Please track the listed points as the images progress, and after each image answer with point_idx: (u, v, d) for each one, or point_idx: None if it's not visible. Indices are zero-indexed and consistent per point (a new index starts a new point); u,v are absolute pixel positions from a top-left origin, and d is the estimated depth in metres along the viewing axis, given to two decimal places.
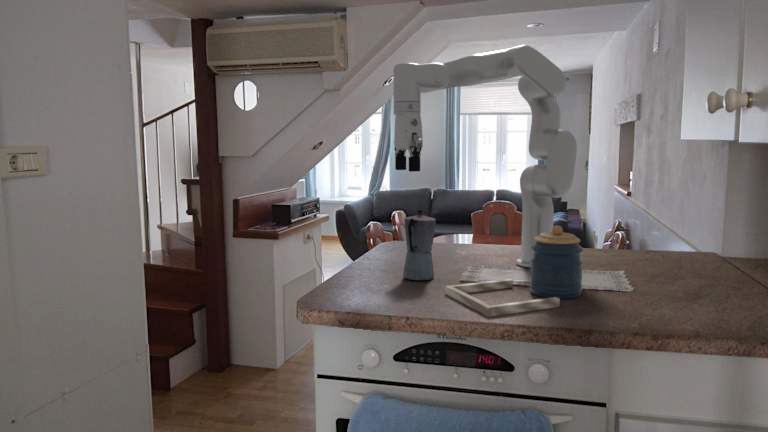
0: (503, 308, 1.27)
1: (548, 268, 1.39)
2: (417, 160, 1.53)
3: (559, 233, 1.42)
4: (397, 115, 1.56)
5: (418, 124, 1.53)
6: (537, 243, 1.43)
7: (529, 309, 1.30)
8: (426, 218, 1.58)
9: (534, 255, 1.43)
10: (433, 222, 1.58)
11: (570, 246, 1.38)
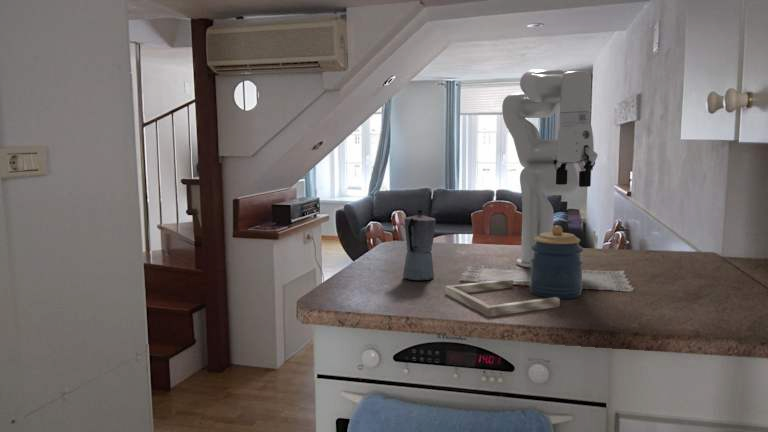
0: (503, 308, 1.27)
1: (548, 268, 1.39)
2: (589, 175, 1.43)
3: (559, 233, 1.42)
4: (563, 126, 1.47)
5: (590, 136, 1.43)
6: (537, 243, 1.43)
7: (529, 309, 1.30)
8: (426, 218, 1.58)
9: (534, 255, 1.43)
10: (433, 222, 1.58)
11: (570, 246, 1.38)
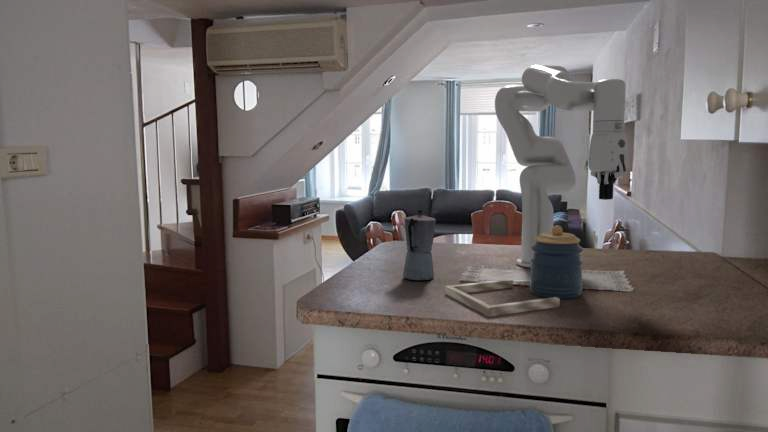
0: (503, 308, 1.27)
1: (548, 268, 1.39)
2: (611, 188, 1.45)
3: (559, 233, 1.42)
4: (597, 135, 1.45)
5: (625, 145, 1.41)
6: (537, 243, 1.43)
7: (529, 309, 1.30)
8: (426, 218, 1.58)
9: (534, 255, 1.43)
10: (433, 222, 1.58)
11: (570, 245, 1.38)
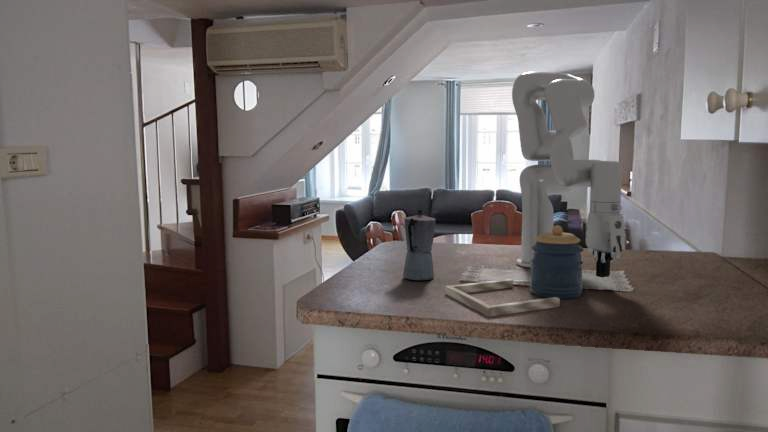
0: (503, 308, 1.27)
1: (548, 268, 1.39)
2: (608, 266, 1.48)
3: (559, 233, 1.42)
4: (594, 214, 1.48)
5: (622, 226, 1.44)
6: (537, 243, 1.43)
7: (529, 309, 1.30)
8: (426, 218, 1.58)
9: (534, 255, 1.43)
10: (433, 222, 1.58)
11: (570, 246, 1.38)
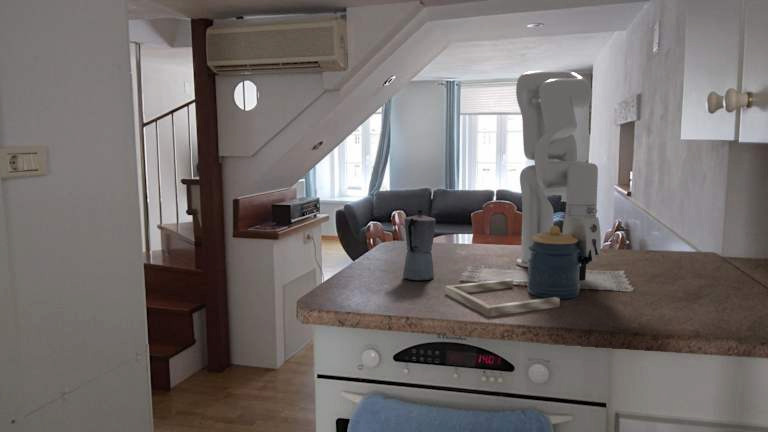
0: (503, 308, 1.27)
1: (546, 268, 1.38)
2: (584, 270, 1.46)
3: (557, 233, 1.41)
4: (570, 217, 1.45)
5: (597, 230, 1.41)
6: (535, 243, 1.42)
7: (529, 309, 1.30)
8: (426, 218, 1.58)
9: (532, 255, 1.43)
10: (433, 222, 1.58)
11: (568, 246, 1.38)
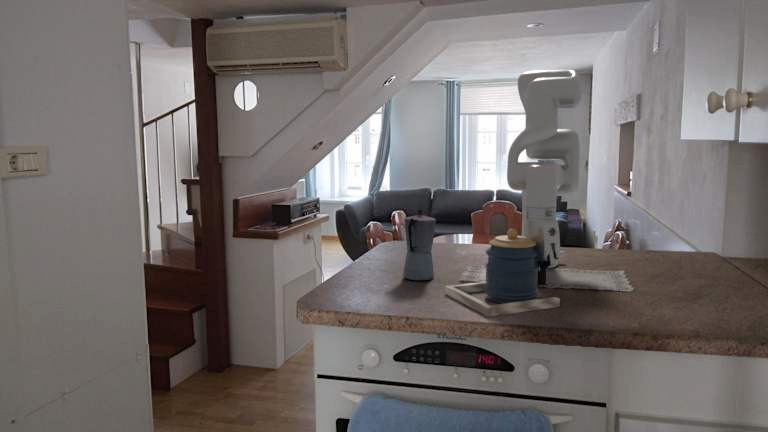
0: (503, 308, 1.27)
1: (502, 273, 1.34)
2: (544, 274, 1.41)
3: (514, 236, 1.37)
4: (529, 220, 1.41)
5: (556, 233, 1.37)
6: (491, 247, 1.38)
7: (529, 309, 1.30)
8: (426, 218, 1.58)
9: (488, 259, 1.38)
10: (433, 222, 1.58)
11: (524, 249, 1.34)
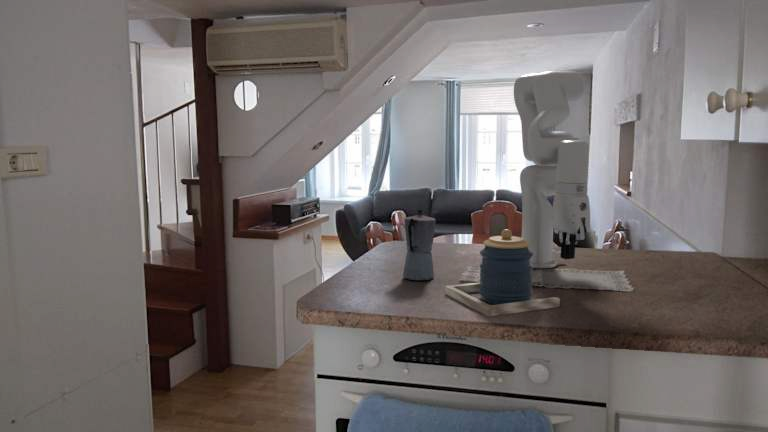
0: (503, 308, 1.27)
1: (496, 273, 1.34)
2: (573, 248, 1.45)
3: (508, 237, 1.37)
4: (560, 195, 1.44)
5: (587, 208, 1.40)
6: (485, 247, 1.37)
7: (529, 309, 1.30)
8: (426, 218, 1.58)
9: (482, 260, 1.38)
10: (433, 222, 1.58)
11: (518, 250, 1.33)
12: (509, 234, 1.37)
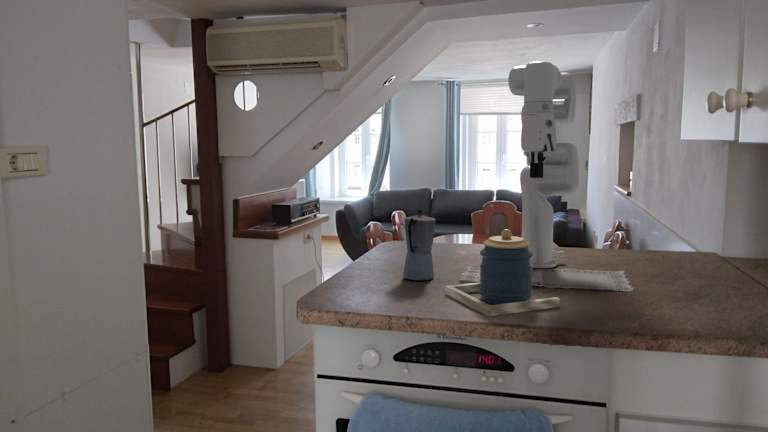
0: (503, 308, 1.27)
1: (496, 273, 1.34)
2: (541, 166, 1.51)
3: (508, 237, 1.37)
4: (527, 116, 1.51)
5: (553, 125, 1.47)
6: (485, 247, 1.37)
7: (529, 309, 1.30)
8: (426, 218, 1.58)
9: (482, 260, 1.38)
10: (433, 222, 1.58)
11: (518, 250, 1.33)
12: (509, 234, 1.37)
